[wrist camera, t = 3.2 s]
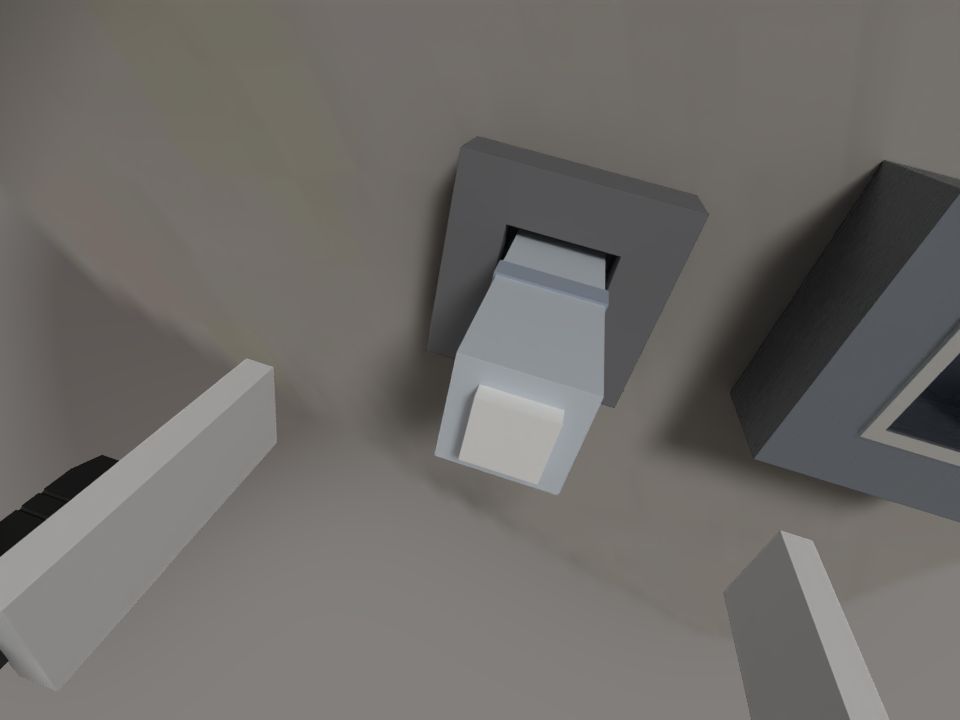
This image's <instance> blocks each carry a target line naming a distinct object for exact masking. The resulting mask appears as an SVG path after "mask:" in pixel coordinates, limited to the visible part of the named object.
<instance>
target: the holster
mask: <svg viewBox="0 0 960 720" xmlns="http://www.w3.org/2000/svg"><path fill="white" fill-rule="evenodd" d="M708 216H709V214H708V212H707V210H706V209H705V207H704V206H703V204H702V203H701V201H700V200H699V198H698V196H696V195H693V194H689V193H685V192H682V191H678V190H674V189H671V188H667V187H663V186H660V185H656V184H652V183H648V182H645V181H641V180H637V179H634V178H630V177H626V176H623V175H619V174H615V173H611V172H608V171H604V170H600V169H597V168H593V167H589V166H586V165H582V164H578V163H574V162H571V161H567V160H563V159H560V158H556V157H552V156H549V155H545V154H541V153H537V152H534V151H530V150H526V149H523V148H519V147H515V146H512V145H508V144H504V143H501V142H497V141H493V140H489V139H486V138H482V137H478V136H477V137H476V138H474V139H473V140H471V141H469V142H468V143H466V144H464V145H463V146H461V148H460V154H459V160H458V166H457V171H456V177H455V183H454V189H453V195H452V201H451V207H450V213H449V219H448V225H447V230H446V236H445V242H444V248H443V254H442V260H441V266H440V272H439V278H438V283H437V289H436V295H435V301H434V307H433V313H432V319H431V325H430V331H429V336H428V342H427V348H426V351H430V352H433V353H436V354H439V355H443V356H446V357H449V358H452V359H455V358H456V353H457V351H458V349H459V347H460V345H461V343H462V341H463V339H464V337H465V335H466V333H467V331H468V329H469V327H470V325H471V323H472V321H473V319H474V317H475V315H476V313H477V311H478V309H479V307H480V306H481V304H482V302H483V300H484V298H485V296H486V294H487V292H488V290H489V288H490V286H491V282H492V278H493V274H494V271H495V269H496V267H497V265H498V263H499V261H500V260H504V259H505V257H506V255H507V253H508V251H509V249H510V247H511V245H512V243H513V241H514V239H515V237H516V235H517V233H518V231H519V229H520V228H521V229H525V230H528V231H532V232H535V233H539V234H543V235H546V236H550V237H553V238H557V239H560V240H564V241H567V242H571V243H574V244H578V245H581V246H585V247H588V248H592V249H596V250H599V251H603V252H605V290H607V291H609V305H608V307H607V310H606V312H605V335H604V398H603V400H602V402H601V404H603V405H606V406H609V407H612V408H615V406H616V404H617V402H618V400H619V398H620V396H621V394H622V391H623V389H624V387H625V385H626V383H627V381H628V379H629V377H630V375H631V373H632V371H633V369H634V367H635V365H636V363H637V361H638V359H639V357H640V355H641V353H642V351H643V349H644V347H645V344H646V342H647V340H648V338H649V336H650V334H651V332H652V330H653V328H654V326H655V324H656V322H657V320H658V318H659V316H660V314H661V312H662V310H663V308H664V306H665V304H666V302H667V300H668V298H669V295H670V293H671V291H672V289H673V287H674V285H675V283H676V281H677V279H678V277H679V275H680V273H681V271H682V269H683V267H684V265H685V263H686V261H687V259H688V257H689V255H690V253H691V251H692V248H693V246H694V244H695V242H696V240H697V238H698V236H699V234H700V232H701V230H702V228H703V226H704V224H705V222H706V220H707V218H708Z"/></svg>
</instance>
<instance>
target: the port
mask: <svg viewBox="0 0 960 720" xmlns="http://www.w3.org/2000/svg"><path fill="white" fill-rule="evenodd" d="M730 395H731V398H732V400H733V403H734V406H735V409H736V411H737V414H738V417H739V420H740V422H741V425H742V428H743V431H744V433H745V436H746V439H747V442H748V444H749V447H750V450H751V453H752V456H753V458H754V459H756V460H759V461H762V462H765V463H769V464H772V465H775V466H778V467H782V468H785V469H788V470H791V471H795V472H798V473H801V474H804V475H808V476H811V477H814V478H817V479H821V480H824V481H827V482H830V483H834V484H837V485H840V486H843V487H847V488H850V489H853V490H856V491H860V492H863V493H866V494H869V495H873V496H876V497H879V498H882V499H886V500H889V501H892V502H895V503H899V504H902V505H905V506H908V507H912V508H915V509H918V510H922V511H925V512H928V513H931V514H935V515H938V516H941V517H944V518H948V519H951V520H954V521H957V522H960V180H959V179H956V178H952V177H948V176H944V175H940V174H936V173H932V172H928V171H925V170H921V169H917V168H913V167H909V166H905V165H901V164H897V163H894V162H890V161H886V160H884V161H883V163H882V164H881V166H880V167H879V169H878V170H877V172H876V173H875V175H874V176H873V178H872V179H871V181H870V182H869V184H868V185H867V187H866V188H865V190H864V191H863V193H862V195H861V196H860V198H859V199H858V201H857V202H856V204H855V205H854V207H853V208H852V210H851V211H850V213H849V214H848V216H847V217H846V219H845V220H844V222H843V223H842V225H841V226H840V228H839V229H838V231H837V232H836V234H835V235H834V237H833V238H832V240H831V241H830V243H829V244H828V246H827V247H826V249H825V250H824V252H823V254H822V255H821V257H820V258H819V260H818V261H817V263H816V264H815V266H814V267H813V269H812V270H811V272H810V273H809V275H808V276H807V278H806V279H805V281H804V282H803V284H802V285H801V287H800V288H799V290H798V291H797V293H796V294H795V296H794V297H793V299H792V300H791V302H790V303H789V305H788V306H787V308H786V310H785V311H784V313H783V314H782V316H781V317H780V319H779V320H778V322H777V323H776V325H775V326H774V328H773V329H772V331H771V332H770V334H769V335H768V337H767V338H766V340H765V341H764V343H763V344H762V346H761V347H760V349H759V350H758V352H757V353H756V355H755V356H754V358H753V359H752V361H751V362H750V364H749V366H748V367H747V369H746V370H745V372H744V373H743V375H742V376H741V378H740V379H739V381H738V382H737V384H736V385H735V387H734V388H733V390H732V391H731V393H730Z"/></svg>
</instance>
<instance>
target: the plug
mask: <svg viewBox="0 0 960 720" xmlns="http://www.w3.org/2000/svg"><path fill="white" fill-rule="evenodd" d="M608 305H609V291H607V290H605V252H603V251H599V250H596V249H592V248H588V247H585V246H581V245H578V244H574V243H571V242H567V241H564V240H560V239H557V238H553V237H550V236H546V235H543V234H539V233H535V232H532V231H528V230H525V229H521V228H520V229H519V231H518V233H517V235H516V237H515V239H514V241H513V243H512V245H511V247H510V249H509V251H508V253H507V255H506V257H505V259H504V260H500V261H499V263H498V265H497V267H496V269H495V271H494V274H493V278H492V282H491V286H490V288H489V290H488V292H487V294H486V296H485V298H484V300H483V302H482V304H481V306H480V307H479V309H478V311H477V313H476V315H475V317H474V319H473V321H472V323H471V325H470V327H469V329H468V331H467V333H466V335H465V337H464V339H463V341H462V343H461V345H460V347H459V349H458V351H457V353H456V358H455V362H454V367H453V372H452V376H451V381H450V386H449V390H448V395H447V400H446V404H445V409H444V413H443V418H442V423H441V427H440V432H439V437H438V441H437V446H436V451H435V455H434V456H437V457H440V458H444V459H447V460H450V461H453V462H456V463H459V464H462V465H465V466H468V467H471V468H475V469H478V470H481V471H484V472H487V473H490V474H493V475H496V476H499V477H502V478H506V479H509V480H512V481H515V482H518V483H521V484H524V485H527V486H530V487H533V488H537V489H540V490H543V491H546V492H549V493H552V494H555V495H559V492H560V490H561V488H562V486H563V484H564V482H565V479H566V477H567V475H568V473H569V471H570V469H571V467H572V464H573V462H574V460H575V458H576V456H577V454H578V451H579V449H580V447H581V445H582V443H583V441H584V438H585V436H586V434H587V432H588V430H589V428H590V426H591V423H592V421H593V419H594V417H595V415H596V413H597V410H598V408H599V406H600V404H601V402H602V400H603V398H604V335H605V312H606V310H607V307H608Z"/></svg>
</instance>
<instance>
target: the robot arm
mask: <svg viewBox="0 0 960 720" xmlns="http://www.w3.org/2000/svg"><path fill="white" fill-rule="evenodd" d="M276 432H277V431H276V409H275V388H274V367H272V366H268V365H265V364H262V363H259V362H256V361H253V360H250V359H247V358H246V359H245V360H244V361H243V362H241V363H240V364H239V365H238V366H237V367H235V368H234V369H233V370H232V371H230V372H229V373H228V374H227V375H225V376H224V377H223V378H222V379H220V380H219V381H218V382H217V383H215V384H214V385H213V386H212V387H211V388H209V389H208V390H207V391H206V392H204V393H203V394H202V395H201V396H199V397H198V398H197V399H196V400H194V401H193V402H192V403H191V404H189V405H188V406H187V407H186V408H184V409H183V410H182V411H181V412H180V413H178V414H177V415H176V416H174V417H173V418H172V419H171V420H170V421H168V422H167V423H166V424H165V425H164V426H162V427H161V428H160V429H159V430H157V431H156V432H155V433H153V434H152V435H151V436H150V437H149V438H147V439H146V440H145V441H143V442H142V443H141V444H140V445H139V446H137V447H136V448H135V449H134V450H132V451H131V452H130V453H129V454H127V455H126V456H125V457H124V458H122V459H121V460H120V461H118V460H115V459H112V458H109V457H107V456H104V455H101V456H99V457H96V458H94V459H92V460H90V461H87V462H85V463H83V464H81V465H79V466H77V467H74V468H72V469H70V470H69V471H67V472H66V473H65V474H64V475H62V476H61V477H59V478H58V479H57V480H55V481H54V482H53V483H51V484H50V485H49V486H47V487H46V488H45V489H44V491H43V492H42V493H38V494H37V495H35V496H34V497H33V498H31V499H30V500H29V501H27V502H26V503H25V504H23V505H22V508H21V509H20V510H15V511H14V512H13V513H11V514H10V515H9V516H7V517H6V518H4V519H3V520H2V521H0V669H1V668H2V667H3V666H4V665H5V664H6V663H7V662H9V663H10V665H11V666H12V667H13V668H14V670H15V671H16V672H17V674H18V675H19V676H20V677H23V678H25V679H28V680H30V681H33V682H36V683H38V684H40V685H43V686H46V687H48V688H51V689H53V690H56V691H58V690H59V689H60V688H61V687H62V686H63V685H64V684H65V682H66V681H67V680H68V679H69V678H70V677H71V676H72V674H73V673H74V672H75V671H76V670H77V669H78V668H79V667H80V665H81V664H82V663H83V662H84V661H85V660H86V659H87V658H88V656H89V655H90V654H91V653H92V652H93V651H94V649H95V648H96V647H97V646H98V645H99V644H100V643H101V642H102V640H103V639H104V638H105V637H106V636H107V635H108V634H109V632H110V631H111V630H112V629H113V628H114V627H115V626H116V625H117V623H118V622H119V621H120V620H121V619H122V618H123V617H124V616H125V614H126V613H127V612H128V611H129V610H130V609H131V608H132V606H133V605H134V604H135V603H136V602H137V601H138V600H139V599H140V597H141V596H142V595H143V594H144V593H145V592H146V591H147V589H148V588H149V587H150V586H151V585H152V584H153V583H154V582H155V580H156V579H157V578H158V577H159V576H160V575H161V574H162V572H163V571H164V570H165V569H166V568H167V567H168V566H169V565H170V563H171V562H172V561H173V560H174V559H175V557H176V556H177V555H178V554H179V553H180V552H181V551H182V549H184V547H185V546H186V545H187V544H188V543H189V542H190V541H191V540H192V538H193V537H194V536H195V535H196V534H197V533H198V532H199V530H200V529H201V528H202V527H203V526H204V525H205V524H206V522H207V521H208V520H209V519H210V518H211V517H212V516H213V515H214V513H215V512H216V511H217V510H218V509H219V508H220V506H222V504H223V503H224V502H225V501H226V500H227V499H228V498H229V496H230V495H231V494H232V493H233V492H234V491H235V490H236V488H237V487H238V486H239V485H240V484H241V483H242V482H243V480H244V479H245V478H246V477H247V476H248V475H249V474H250V473H251V472H252V470H253V469H254V468H255V467H256V466H257V465H258V464H259V462H260V461H261V460H262V459H263V458H264V457H265V456H266V454H267V453H268V452H269V451H270V450H271V449H272V448H273V447H274V445H275V444H276V443H277V433H276ZM724 597H725V602H726V606H727V611H728V615H729V620H730V625H731V629H732V634H733V638H734V643H735V647H736V652H737V656H738V661H739V666H740V671H741V675H742V680H743V684H744V689H745V693H746V698H747V703H748V707H749V712H750V716H751V720H889V718H888V715H887V713H886V711H885V708H884V706H883V704H882V701H881V699H880V697H879V694H878V692H877V690H876V687H875V685H874V683H873V680H872V678H871V676H870V674H869V671H868V669H867V666H866V664H865V662H864V659H863V657H862V655H861V653H860V650H859V648H858V645H857V643H856V641H855V638H854V636H853V634H852V631H851V629H850V627H849V624H848V622H847V620H846V617H845V615H844V613H843V610H842V608H841V606H840V603H839V601H838V599H837V596H836V594H835V592H834V589H833V587H832V585H831V582H830V580H829V578H828V575H827V573H826V571H825V569H824V566H823V564H822V562H821V559H820V557H819V555H818V552H817V550H816V548H815V545H814V543H813V541H812V540H809V539H806V538H802V537H799V536H796V535H793V534H790V533H787V532H784V531H781V530H780V531H779V532H778V533H777V534H776V535H775V537H774V538H773V539H772V540H771V541H770V542H769V543H768V544H767V545H766V546H765V547H764V549H763V550H762V551H761V552H760V553H759V554H758V555H757V556H756V557H755V558H754V559H753V560H752V562H751V563H750V564H749V565H748V566H747V567H746V568H745V569H744V570H743V571H742V572H741V574H740V575H739V576H738V577H737V578H736V579H735V580H734V581H733V582H732V583H731V584H730V585H729V587H728V588H727V589H726V590H725V591H724Z"/></svg>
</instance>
